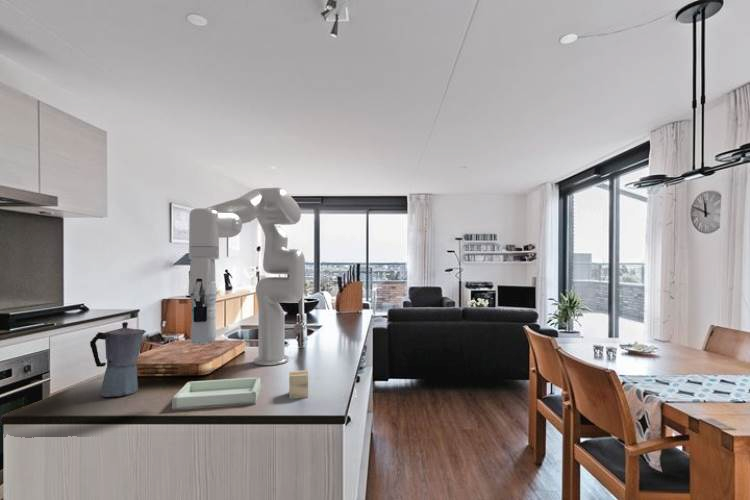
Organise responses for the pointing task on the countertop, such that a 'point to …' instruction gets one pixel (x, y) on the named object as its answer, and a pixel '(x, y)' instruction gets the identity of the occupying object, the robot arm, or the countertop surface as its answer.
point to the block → (298, 384)
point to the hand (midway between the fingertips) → (203, 319)
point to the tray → (217, 393)
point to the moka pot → (119, 360)
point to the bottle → (206, 329)
